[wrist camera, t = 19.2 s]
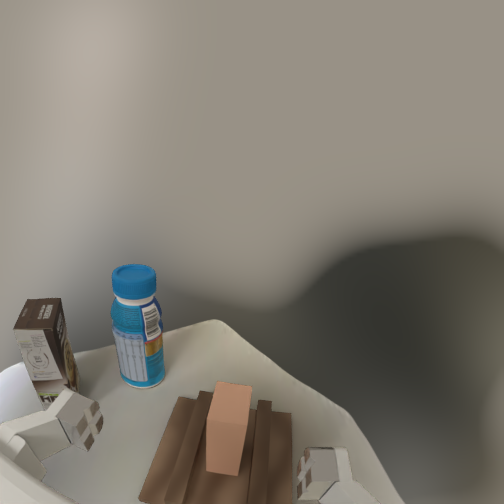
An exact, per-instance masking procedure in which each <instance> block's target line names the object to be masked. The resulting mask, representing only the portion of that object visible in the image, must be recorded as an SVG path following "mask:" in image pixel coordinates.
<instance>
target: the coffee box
mask: <svg viewBox="0 0 504 504" xmlns="http://www.w3.org/2000/svg"><path fill="white" fill-rule="evenodd" d="M13 330H14V333H15V336H16V340H17V343H18V346H19V349H20V352H21V355H22V358H23V360H24V363H25V366H26V368H27V371H28V373H29V376H30V378H31V380H32V383H33V385H34V388H35V390H36V392H37V394H38V397H39V399H40V401H41V403H42V405H43V407H44V409H45V411H46V410H47V409H48V408H49V407H50V405H51V404H52V403H53V402H54V401H55V399H56V398H57V397H58V396H59V395H60V393H61V392H62V391H63V390H64V389H66V388H67V389H70V390H72V391H74V392H76V393H78V394H79V385H80V376H79V373H78V369H77V366H76V362H75V359H74V355H73V352H72V348H71V344H70V340H69V336H68V332H67V327H66V323H65V318H64V313H63V308H62V302H61V298H46V299H27V301H26V303H25V305H24V307H23V309H22V311H21V313H20V315H19V318H18V320H17V322H16V324H15V326H14V329H13Z"/></svg>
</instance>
